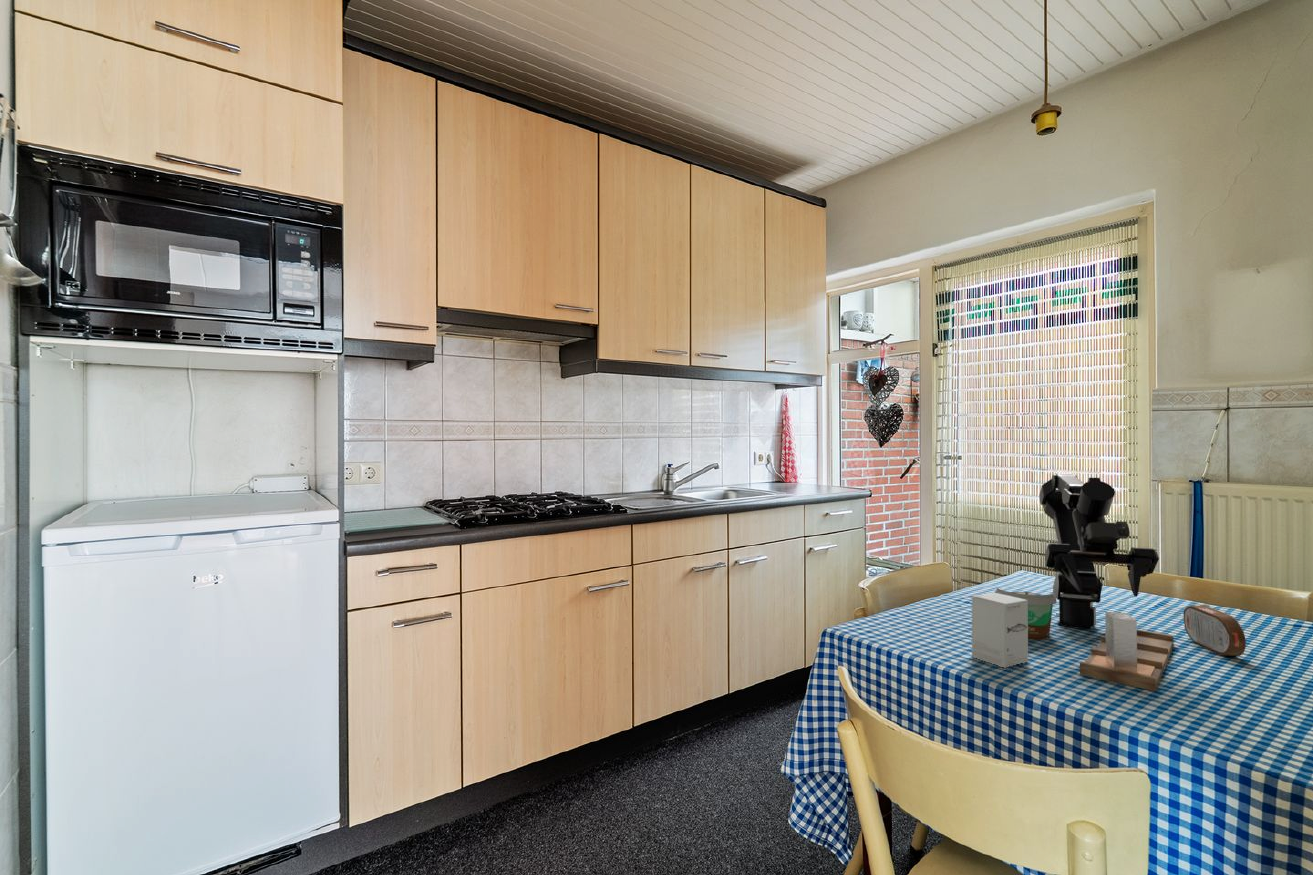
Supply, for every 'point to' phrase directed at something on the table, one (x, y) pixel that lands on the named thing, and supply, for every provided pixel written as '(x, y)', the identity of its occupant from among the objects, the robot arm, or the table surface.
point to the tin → (1214, 630)
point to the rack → (1149, 661)
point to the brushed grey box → (1121, 641)
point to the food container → (1036, 612)
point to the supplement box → (1000, 629)
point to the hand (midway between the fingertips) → (1108, 593)
